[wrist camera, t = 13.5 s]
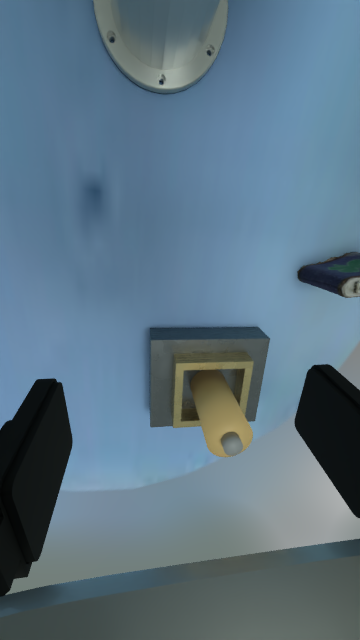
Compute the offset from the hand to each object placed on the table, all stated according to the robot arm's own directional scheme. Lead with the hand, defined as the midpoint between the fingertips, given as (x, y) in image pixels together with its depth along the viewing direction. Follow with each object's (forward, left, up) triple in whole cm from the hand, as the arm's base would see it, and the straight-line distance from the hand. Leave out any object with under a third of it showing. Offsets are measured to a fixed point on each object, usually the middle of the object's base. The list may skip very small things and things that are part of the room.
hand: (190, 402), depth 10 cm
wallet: (-1, +24, -27) cm, 36 cm away
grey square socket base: (+15, +7, -26) cm, 31 cm away
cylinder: (+15, +7, -22) cm, 28 cm away
